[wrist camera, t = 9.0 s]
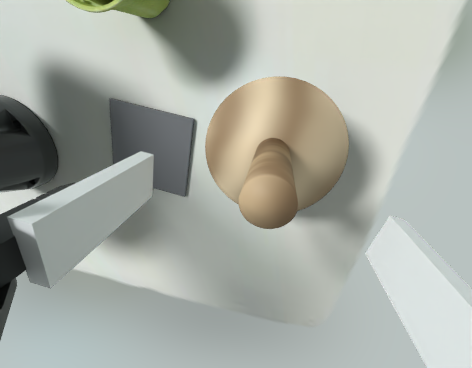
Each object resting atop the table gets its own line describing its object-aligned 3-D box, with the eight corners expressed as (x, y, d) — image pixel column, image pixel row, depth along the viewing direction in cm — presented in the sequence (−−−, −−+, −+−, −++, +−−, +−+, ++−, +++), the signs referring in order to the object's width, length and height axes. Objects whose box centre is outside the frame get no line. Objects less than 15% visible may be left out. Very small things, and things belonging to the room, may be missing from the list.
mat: (116, 175, 34) (114, 176, 34) (111, 98, 29) (109, 98, 29) (185, 195, 33) (184, 196, 33) (194, 118, 28) (192, 119, 28)
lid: (202, 190, 26) (152, 257, 16) (220, 62, 20) (158, 36, 10) (314, 220, 25) (338, 314, 15) (371, 96, 19) (481, 107, 9)
